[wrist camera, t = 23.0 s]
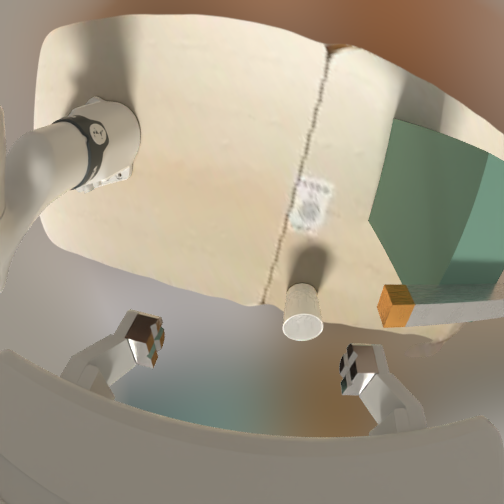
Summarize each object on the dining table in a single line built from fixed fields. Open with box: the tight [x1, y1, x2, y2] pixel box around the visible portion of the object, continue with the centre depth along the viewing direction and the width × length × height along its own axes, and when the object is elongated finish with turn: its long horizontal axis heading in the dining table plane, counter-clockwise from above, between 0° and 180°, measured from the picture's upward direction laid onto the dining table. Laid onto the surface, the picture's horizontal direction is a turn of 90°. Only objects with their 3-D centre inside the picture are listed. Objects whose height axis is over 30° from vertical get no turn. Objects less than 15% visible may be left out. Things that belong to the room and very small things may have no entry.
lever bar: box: [377, 283, 504, 328], centre depth 23 cm, size 22×3×3 cm, turn 91°
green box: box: [368, 118, 504, 322], centre depth 32 cm, size 10×20×26 cm, turn 174°
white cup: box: [283, 283, 323, 341], centre depth 56 cm, size 8×8×10 cm
